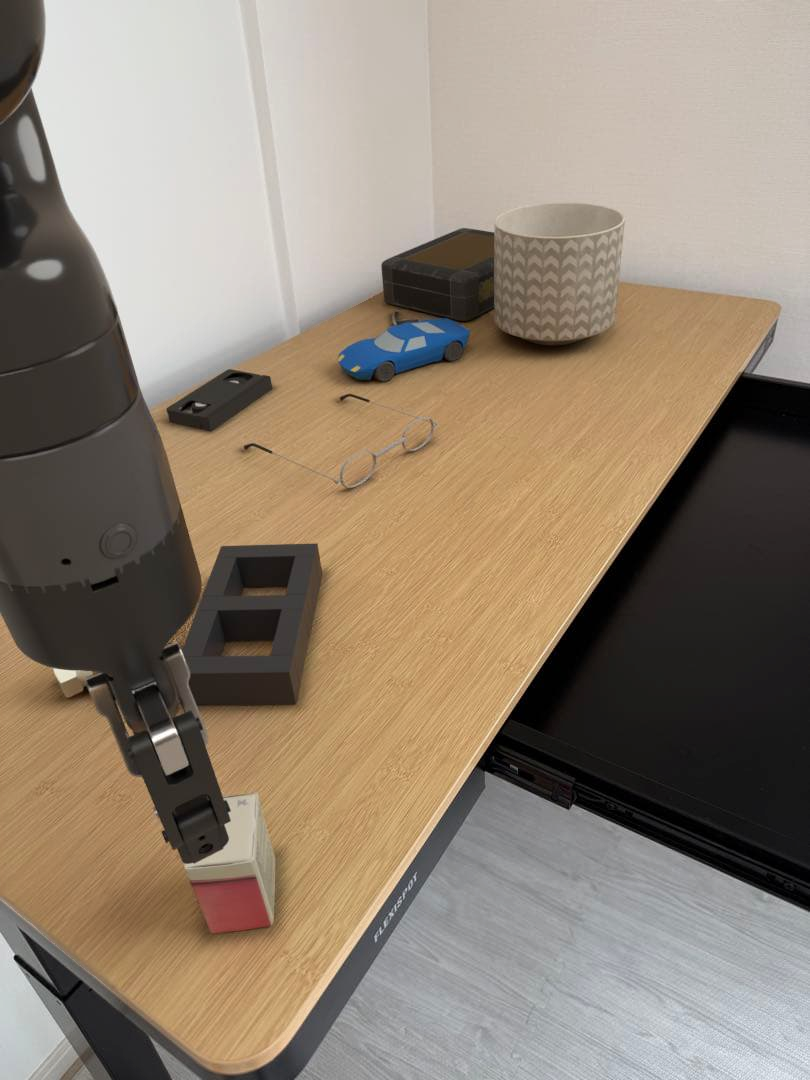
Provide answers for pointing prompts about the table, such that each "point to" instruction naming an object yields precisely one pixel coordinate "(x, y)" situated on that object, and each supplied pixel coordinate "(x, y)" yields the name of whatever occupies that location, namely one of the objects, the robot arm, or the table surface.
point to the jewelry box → (444, 275)
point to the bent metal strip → (398, 322)
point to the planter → (557, 271)
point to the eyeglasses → (364, 451)
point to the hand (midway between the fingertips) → (178, 783)
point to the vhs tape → (219, 399)
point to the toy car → (404, 348)
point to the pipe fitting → (71, 680)
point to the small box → (238, 872)
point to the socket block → (254, 625)
